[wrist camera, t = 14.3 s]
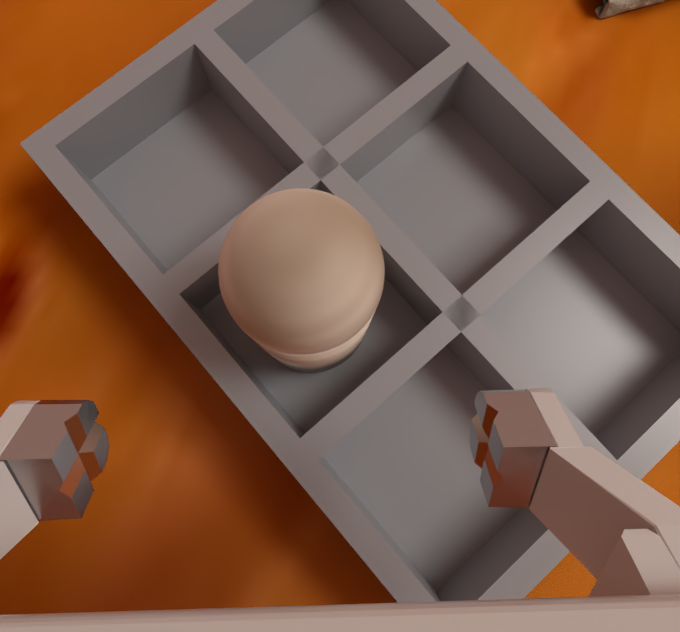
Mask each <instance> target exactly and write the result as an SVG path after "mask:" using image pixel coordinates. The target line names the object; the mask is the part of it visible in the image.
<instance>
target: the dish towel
mask: <svg viewBox="0 0 680 632" xmlns="http://www.w3.org/2000/svg"><path fill="white" fill-rule="evenodd" d="M663 1H665V0H602V2H603V5H602V6H598V7H597V8H596V9H595V12H596V15H597V17H598V19H603V18H607V17H611V16H614V15H617V14H619V13H622V12H626V11H630V10H635V9H638V8H642V7H646V6H649V5H653V4H656V3H662V2H663Z"/></svg>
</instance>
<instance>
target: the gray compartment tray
mask: <svg viewBox="0 0 680 632" xmlns="http://www.w3.org/2000/svg"><path fill="white" fill-rule="evenodd" d="M20 144H21V146H22V147H23V148H24V149H25V150H26V152H27V153H28V154H29V155H30V157H31V158H32V159H33V160H34V161H35V163H36V164H37V165H38V166H39V167H40V169H41V170H42V171H43V172H44V174H45V175H46V176H47V177H48V178H49V180H50V181H51V182H52V183H53V184H54V186H55V187H56V188H57V189H58V191H59V192H60V193H61V194H62V195H63V197H64V198H65V199H66V200H67V201H68V203H69V204H70V205H71V206H72V208H73V209H74V210H75V211H76V212H77V214H78V215H79V216H80V217H81V219H82V220H83V221H84V222H85V223H86V225H87V226H88V227H89V228H90V229H91V231H92V232H93V233H94V234H95V236H96V237H97V238H98V239H99V240H100V242H101V243H102V244H103V245H104V246H105V248H106V249H107V250H108V251H109V253H110V254H111V255H112V256H113V257H114V259H115V260H116V261H117V262H118V263H119V265H120V266H121V267H122V268H123V270H124V271H125V272H126V273H127V274H128V276H129V277H130V278H131V279H132V280H133V282H134V283H135V284H136V285H137V287H138V288H139V289H140V290H141V291H142V293H143V294H144V295H145V296H146V297H147V299H148V300H149V301H150V302H151V304H152V305H153V306H154V307H155V308H156V310H157V311H158V312H159V313H160V314H161V316H162V317H163V318H164V319H165V321H166V322H167V323H168V324H169V325H170V327H171V328H172V329H173V330H174V331H175V333H176V334H177V335H178V336H179V338H180V339H181V340H182V341H183V342H184V344H185V345H186V346H187V347H188V348H189V350H190V351H191V352H192V353H193V355H194V356H195V357H196V358H197V359H198V361H199V362H200V363H201V364H202V365H203V367H204V368H205V369H206V370H207V372H208V373H209V374H210V375H211V376H212V378H213V379H214V380H215V381H216V382H217V384H218V385H219V386H220V387H221V389H222V390H223V391H224V392H225V393H226V395H227V396H228V397H229V398H230V399H231V401H232V402H233V403H234V404H235V406H236V407H237V408H238V409H239V410H240V412H241V413H242V414H243V415H244V416H245V418H246V419H247V420H248V421H249V423H250V424H251V425H252V426H253V427H254V429H255V430H256V431H257V432H258V433H259V435H260V436H261V437H262V438H263V440H264V441H265V442H266V443H267V444H268V446H269V447H270V448H271V449H272V450H273V452H274V453H275V454H276V455H277V457H278V458H279V459H280V460H281V461H282V463H283V464H284V465H285V466H286V467H287V469H288V470H289V471H290V472H291V474H292V475H293V476H294V477H295V478H296V480H297V481H298V482H299V483H300V484H301V486H302V487H303V488H304V489H305V491H306V492H307V493H308V494H309V495H310V497H311V498H312V499H313V500H314V501H315V503H316V504H317V505H318V506H319V508H320V509H321V510H322V511H323V512H324V514H325V515H326V516H327V517H328V518H329V520H330V521H331V522H332V523H333V525H334V526H335V527H336V528H337V529H338V531H339V532H340V533H341V534H342V535H343V537H344V538H345V539H346V540H347V542H348V543H349V544H350V545H351V546H352V548H353V549H354V550H355V551H356V552H357V554H358V555H359V556H360V557H361V559H362V560H363V561H364V562H365V563H366V565H367V566H368V567H369V568H370V569H371V571H372V572H373V573H374V574H375V576H376V577H377V578H378V579H379V580H380V582H381V583H382V584H383V585H384V587H385V588H386V589H387V590H388V591H389V593H390V594H391V595H392V596H393V597H394V599H395V600H396V601H397V602H398V603H403V602H435V601H467V600H500V599H523V598H524V597H525V596H526V595H527V594H528V593H529V592H530V591H531V590H532V589H533V588H534V587H535V586H536V585H537V584H538V583H539V582H540V581H541V580H542V579H543V578H544V577H545V576H546V575H547V574H548V573H549V572H550V571H551V570H552V569H553V568H554V567H555V566H556V565H557V564H558V563H559V562H560V561H561V560H562V559H563V558H564V557H565V556H566V555H567V554H568V553H569V552H570V551H569V550H568V549H567V548H566V547H565V546H564V545H563V544H562V543H561V542H560V541H559V539H558V538H557V537H556V536H555V535H554V534H553V533H552V532H551V531H550V530H549V529H548V528H547V527H546V526H545V525H544V524H543V523H542V522H541V521H540V520H539V519H538V518H537V517H536V516H535V515H534V514H533V513H532V512H531V511H530V510H529V508H530V507H488V505H487V502H486V498H485V495H484V492H483V489H482V486H481V483H480V476H481V472H482V469H481V468H480V467H479V466H478V465H477V464H476V463H474V459H473V456H472V452H471V447H470V425H471V419H472V418H473V417H474V416H476V415H477V411H476V408H475V405H474V403H475V399H476V395H477V393H478V391H488V390H519V389H524V390H525V389H542V388H550V389H551V390H552V391H554V393H555V395H556V397H557V398H558V400H559V402H560V404H561V406H562V407H563V409H564V411H565V413H566V415H567V416H568V418H569V420H570V422H571V424H572V425H573V427H574V429H575V431H576V433H577V434H578V436H579V438H580V440H581V442H582V443H583V445H584V447H593V448H594V449H596V450H597V451H599V452H600V453H602V454H603V455H605V456H606V457H608V458H609V459H611V460H612V461H613V462H615V463H616V464H618V465H619V466H621V467H622V468H624V469H625V470H627V471H628V472H630V473H631V474H632V475H634V476H635V477H637V478H638V479H640V480H641V479H642V478H643V477H644V476H645V475H646V474H647V473H648V472H649V471H650V470H651V469H652V468H653V467H654V466H655V465H656V464H657V463H658V462H659V461H660V460H661V459H662V458H663V457H664V456H665V455H666V454H667V453H668V452H669V451H670V450H671V449H672V448H673V447H674V446H675V445H676V444H677V443H678V442H679V441H680V235H679V234H678V233H677V232H676V231H675V230H674V229H673V228H672V227H671V226H670V225H669V224H668V223H667V222H666V221H665V220H664V219H663V218H661V217H660V216H659V215H658V214H657V213H656V212H655V211H654V210H653V209H652V208H651V207H650V206H649V205H648V204H647V203H646V202H645V201H644V200H643V199H642V198H641V197H640V196H639V195H638V194H637V193H635V192H634V191H633V190H632V189H631V188H630V187H629V186H628V185H627V184H626V183H625V182H624V181H623V180H622V179H621V178H620V177H619V176H618V175H617V174H616V173H615V172H614V171H613V170H612V169H611V168H610V167H608V166H607V165H606V164H605V163H604V162H603V161H602V160H601V159H600V158H599V157H598V156H597V155H596V154H595V153H594V152H593V151H592V150H591V149H590V148H589V147H588V146H587V145H586V144H585V143H584V142H583V141H581V140H580V139H579V138H578V137H577V136H576V135H575V134H574V133H573V132H572V131H571V130H570V129H569V128H568V127H567V126H566V125H565V124H564V123H563V122H562V121H561V120H560V119H559V118H558V117H557V116H556V115H554V114H553V113H552V112H551V111H550V110H549V109H548V108H547V107H546V106H545V105H544V104H543V103H542V102H541V101H540V100H539V99H538V98H537V97H536V96H535V95H534V94H533V93H532V92H531V91H530V90H528V89H527V88H526V87H525V86H524V85H523V84H522V83H521V82H520V81H519V80H518V79H517V78H516V77H515V76H514V75H513V74H512V73H511V72H510V71H509V70H508V69H507V68H506V67H505V66H504V65H503V64H501V63H500V62H499V61H498V60H497V59H496V58H495V57H494V56H493V55H492V54H491V53H490V52H489V51H488V50H487V49H486V48H485V47H484V46H483V45H482V44H481V43H480V42H479V41H478V40H477V39H476V38H474V37H473V36H472V35H471V34H470V33H469V32H468V31H467V30H466V29H465V28H464V27H463V26H462V25H461V24H460V23H459V22H458V21H457V20H456V19H455V18H454V17H453V16H452V15H451V14H450V13H449V12H447V11H446V10H445V9H444V8H443V7H442V6H441V5H440V4H439V3H438V2H437V1H436V0H217V1H216V2H215V3H213V4H212V5H210V6H209V7H208V8H206V9H205V10H203V11H202V12H201V13H199V14H198V15H197V16H195V17H194V18H192V19H191V20H190V21H188V22H187V23H185V24H184V25H183V26H181V27H180V28H179V29H177V30H176V31H174V32H173V33H172V34H170V35H169V36H167V37H166V38H165V39H163V40H162V41H161V42H159V43H158V44H156V45H155V46H154V47H152V48H151V49H150V50H148V51H147V52H145V53H144V54H143V55H141V56H140V57H138V58H137V59H136V60H134V61H133V62H132V63H130V64H129V65H127V66H126V67H125V68H123V69H122V70H120V71H119V72H118V73H116V74H115V75H114V76H112V77H111V78H109V79H108V80H107V81H105V82H104V83H102V84H101V85H100V86H98V87H97V88H96V89H94V90H93V91H91V92H90V93H89V94H87V95H86V96H84V97H83V98H82V99H80V100H79V101H78V102H76V103H75V104H73V105H72V106H71V107H69V108H68V109H66V110H65V111H64V112H62V113H61V114H60V115H58V116H57V117H55V118H54V119H53V120H51V121H50V122H48V123H47V124H46V125H44V126H43V127H42V128H40V129H39V130H37V131H36V132H35V133H33V134H32V135H31V136H29V137H28V138H26V139H25V140H24V141H22V142H21V143H20ZM295 188H308V189H315V190H320V191H324V192H327V193H330V194H332V195H335V196H337V197H339V198H341V199H343V200H344V201H346V202H347V203H349V204H350V205H351V206H353V207H354V208H355V209H356V210H357V211H358V212H360V213H361V214H362V215H363V216H364V218H365V219H366V220H367V221H368V223H369V224H370V225H371V227H372V229H373V230H374V232H375V234H376V236H377V239H378V241H379V243H380V246H381V250H382V253H383V258H384V265H385V277H384V285H383V291H382V295H381V298H380V301H379V303H378V306H377V308H376V311H375V313H374V315H373V317H372V320H371V322H370V324H369V326H368V329H367V331H366V333H365V336H364V338H363V340H362V342H361V344H360V346H359V347H358V349H357V350H356V351H355V353H354V354H353V355H352V356H351V357H350V358H349V359H348V360H346V361H345V362H344V363H342V364H341V365H339V366H337V367H335V368H333V369H330V370H327V371H323V372H316V373H307V372H300V371H296V370H293V369H290V368H288V367H286V366H284V365H282V364H281V363H279V362H278V361H277V360H275V359H274V358H273V357H272V356H271V355H270V354H268V353H267V352H266V351H265V350H264V349H263V348H262V347H261V346H259V345H258V344H257V343H256V342H255V341H254V340H253V339H252V338H250V337H249V336H248V335H247V334H246V333H245V332H244V331H243V330H242V329H241V328H240V327H239V326H238V325H237V323H236V322H235V320H234V319H233V318H232V316H231V315H230V313H229V311H228V309H227V307H226V305H225V303H224V300H223V298H222V295H221V290H220V286H219V276H218V265H219V257H220V251H221V248H222V245H223V242H224V239H225V237H226V235H227V233H228V231H229V229H230V228H231V226H232V225H233V223H234V222H235V220H236V219H237V218H238V217H239V216H240V214H241V213H242V212H243V211H244V210H246V209H247V208H248V207H249V206H250V205H252V204H253V203H255V202H256V201H257V200H259V199H261V198H263V197H265V196H267V195H270V194H272V193H275V192H278V191H282V190H287V189H295Z"/></svg>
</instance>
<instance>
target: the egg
mask: <svg viewBox="0 0 680 632" xmlns="http://www.w3.org/2000/svg"><path fill="white" fill-rule="evenodd" d="M218 276H219V286H220V290H221V295H222V298H223V300H224V303H225V305H226V307H227V309H228V311H229V313H230V315H231V316H232V318H233V319H234V320H235V322H236V323H237V325H238V326H239V327H240V328H241V329H242V330H243V331H244V332H245V333H246V334H247V335H248V336H249V337H250V338H252V339H253V340H254V341H255V342H256V343H257V344H258V345H259V346H261V347H262V348H263V349H264V350H265V351H266V352H267V353H268V354H270V355H271V356H272V357H273V358H274V359H275V360H277V361H278V362H279V363H281V364H282V365H284V366H286V367H288V368H290V369H293V370H296V371H300V372H307V373H316V372H323V371H327V370H330V369H333V368H335V367H337V366H339V365H341V364H342V363H344V362H345V361H346V360H348V359H349V358H350V357H351V356H352V355H353V354H354V353H355V351H356V350H357V349H358V347H359V346H360V344H361V342H362V340H363V338H364V336H365V333H366V331H367V329H368V326H369V324H370V322H371V320H372V317H373V315H374V313H375V311H376V308H377V306H378V303H379V301H380V298H381V295H382V291H383V285H384V277H385V265H384V258H383V253H382V250H381V246H380V243H379V241H378V239H377V236H376V234H375V232H374V230H373V229H372V227H371V225H370V224H369V223H368V221H367V220H366V219H365V218H364V216H363V215H362V214H361V213H360V212H358V211H357V210H356V209H355V208H354V207H353V206H351V205H350V204H349V203H347V202H346V201H344V200H343V199H341V198H339V197H337V196H335V195H332V194H330V193H327V192H324V191H320V190H315V189H308V188H295V189H287V190H282V191H278V192H275V193H272V194H270V195H267V196H265V197H263V198H261V199H259V200H257V201H256V202H255V203H253V204H252V205H250V206H249V207H248V208H247V209H246V210H244V211H243V212H242V213H241V214H240V216H239V217H238V218H237V219H236V220H235V222H234V223H233V225H232V226H231V228H230V229H229V231H228V233H227V235H226V237H225V239H224V242H223V245H222V248H221V251H220V257H219V265H218Z"/></svg>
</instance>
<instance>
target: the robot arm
mask: <svg viewBox="0 0 680 632" xmlns="http://www.w3.org/2000/svg"><path fill="white" fill-rule="evenodd" d="M474 405H475V408H476V411H477V415H476V416H474V417H473V418H472V419H471V425H470V447H471V452H472V456H473V459H474V463H476V464H477V465H478V466H479V467H480V468H481V469H482V472H481V476H480V483H481V486H482V489H483V492H484V495H485V498H486V502H487V505H488V507H530V508H529V510H530V511H531V512H532V513H533V514H534V515H535V516H536V517H537V518H538V519H539V520H540V521H541V522H542V523H543V524H544V525H545V526H546V527H547V528H548V529H549V530H550V531H551V532H552V533H553V534H554V535H555V536H556V537H557V538H558V539H559V541H560V542H561V543H562V544H563V545H564V546H565V547H566V548H567V549H568V550H569V551H570V552H571V553H572V554H573V555H574V556H575V557H576V558H577V559H578V560H579V561H580V562H581V563H582V564H583V565H584V566H585V567H586V568H587V569H588V570H589V571H590V572H591V573H592V574H593V576H594V577H595V578H596V579H597V582H596V583H595V585H594V587H593V589H592V591H591V593H590V595H589V597H566V598H533V599H500V600H467V601H435V602H403V603H370V604H338V605H306V606H273V607H241V608H209V609H177V610H144V611H111V612H78V613H45V614H12V615H0V632H680V507H679V506H678V505H676V504H675V503H673V502H672V501H670V500H669V499H668V498H666V497H665V496H663V495H662V494H660V493H659V492H657V491H656V490H654V489H653V488H651V487H650V486H649V485H647V484H646V483H644V482H643V481H641V480H640V479H638V478H637V477H635V476H634V475H632V474H631V473H630V472H628V471H627V470H625V469H624V468H622V467H621V466H619V465H618V464H616V463H615V462H613V461H612V460H611V459H609V458H608V457H606V456H605V455H603V454H602V453H600V452H599V451H597V450H596V449H594V448H593V447H584V445H583V443H582V442H581V440H580V438H579V436H578V434H577V433H576V431H575V429H574V427H573V425H572V424H571V422H570V420H569V418H568V416H567V415H566V413H565V411H564V409H563V407H562V406H561V404H560V402H559V400H558V398H557V397H556V395H555V393H554V391H552V390H551V389H550V388H542V389H525V390H524V389H519V390H488V391H478V393H477V395H476V399H475V403H474ZM98 414H99V413H98V410H97V408H96V406H95V404H94V402H92V401H89V400H41V401H16V402H14V403H12V404H10V405H9V407H8V408H7V409H6V411H5V412H4V414H3V415H2V416H1V418H0V559H1V558H2V557H3V556H5V555H6V554H7V553H8V552H9V551H10V550H11V549H12V548H13V547H14V546H15V545H16V544H17V543H18V542H19V541H20V540H21V539H22V538H24V537H25V536H26V535H27V534H28V533H29V532H30V531H31V530H32V529H33V528H34V527H35V526H36V525H37V524H38V523H39V521H40V520H58V519H77V518H82V516H83V513H84V511H85V509H86V507H87V505H88V502H89V500H90V498H91V496H92V493H93V491H94V489H93V486H92V484H91V480H93V479H94V478H95V477H96V476H98V475H99V474H100V473H101V472H102V471H103V468H104V466H105V463H106V461H107V456H108V449H109V444H108V436H107V433H106V431H105V428H104V427H102V426H101V425H100V424H98V423H97V422H95V420H96V418H97V416H98Z"/></svg>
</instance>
